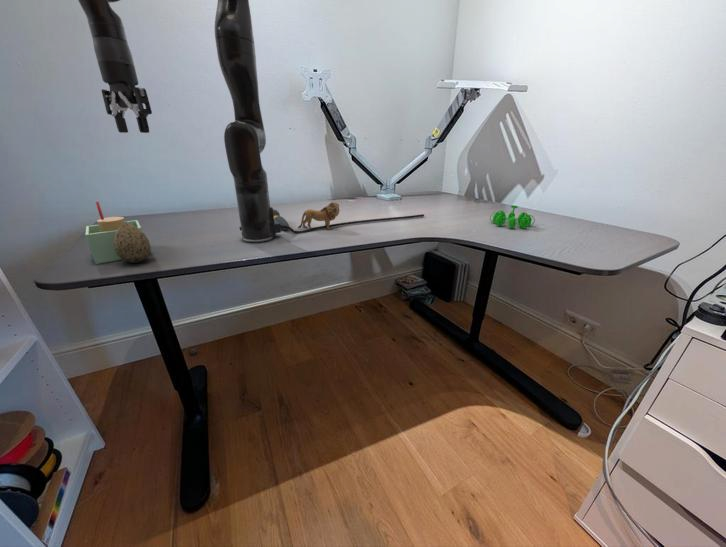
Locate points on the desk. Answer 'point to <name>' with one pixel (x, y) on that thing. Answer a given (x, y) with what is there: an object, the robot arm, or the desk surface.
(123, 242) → the decorative egg
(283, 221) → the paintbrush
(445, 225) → the desk surface
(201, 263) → the desk surface
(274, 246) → the desk surface
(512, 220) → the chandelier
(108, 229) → the paper cup
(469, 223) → the desk surface
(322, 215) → the lion figurine
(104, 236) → the bin
